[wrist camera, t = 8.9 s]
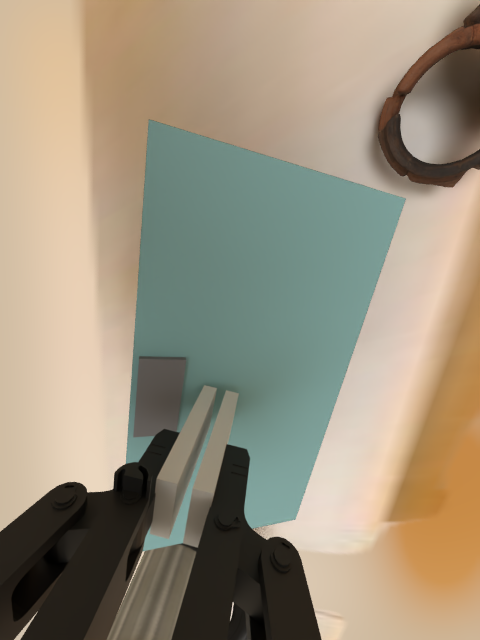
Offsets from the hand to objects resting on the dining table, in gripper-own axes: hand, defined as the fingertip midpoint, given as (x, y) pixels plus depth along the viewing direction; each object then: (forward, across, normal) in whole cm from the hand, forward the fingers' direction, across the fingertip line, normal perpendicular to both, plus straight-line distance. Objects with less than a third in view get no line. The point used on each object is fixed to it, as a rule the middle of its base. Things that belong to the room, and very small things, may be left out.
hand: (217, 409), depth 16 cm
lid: (+3, +1, +1) cm, 3 cm away
